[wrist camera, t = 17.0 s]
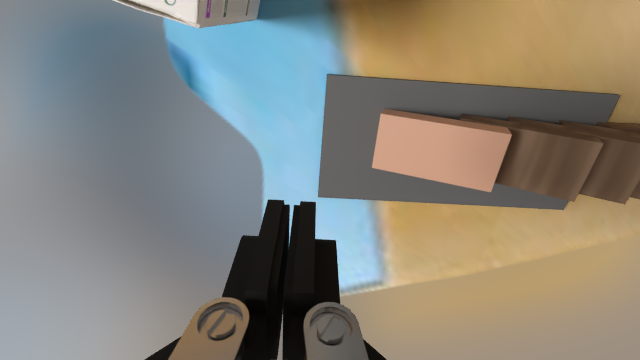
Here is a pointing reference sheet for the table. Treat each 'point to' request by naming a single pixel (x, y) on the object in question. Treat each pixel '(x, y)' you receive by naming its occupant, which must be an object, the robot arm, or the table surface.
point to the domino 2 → (544, 158)
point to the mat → (441, 101)
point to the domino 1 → (440, 149)
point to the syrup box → (199, 10)
